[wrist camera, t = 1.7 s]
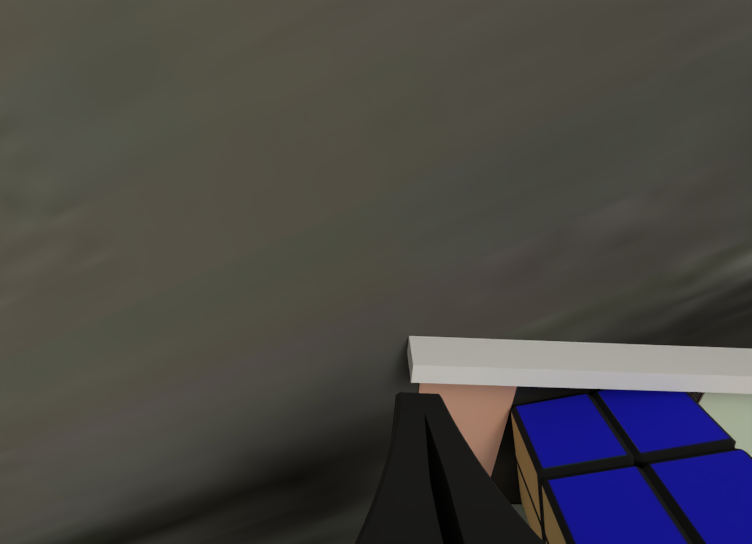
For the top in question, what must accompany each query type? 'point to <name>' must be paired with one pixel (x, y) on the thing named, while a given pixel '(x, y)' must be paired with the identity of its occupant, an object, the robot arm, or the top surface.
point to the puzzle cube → (631, 470)
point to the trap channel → (573, 380)
